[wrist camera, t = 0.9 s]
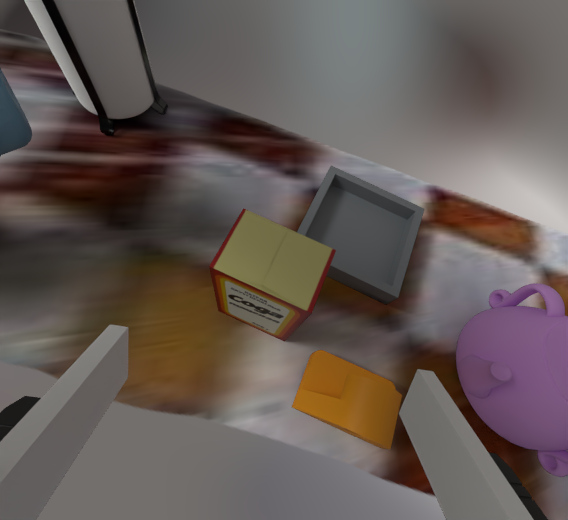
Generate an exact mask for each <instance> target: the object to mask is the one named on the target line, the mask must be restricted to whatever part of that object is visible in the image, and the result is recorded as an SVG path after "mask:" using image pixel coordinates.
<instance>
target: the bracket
mask: <svg viewBox="0 0 568 520" xmlns="http://www.w3.org/2000/svg"><path fill="white" fill-rule="evenodd" d="M401 398H402V395H401V394H400V393H399V392H398V391H396V389H395V386H394V384H393V383H392V382H391V381H390V380H387V379H385V378H383V377H381V376H379V375H376V374H374V373H372V372H370V371H368V370H365V369H363V368H361V367H359V366H357V365H354V364H352V363H350V362H348V361H346V360H343V359H341V358H339V357H337V356H334V355H332V354H330V353H328V352H326V351H323V350H318V351H316V352H314V353H312V354H311V356H310V358H309V361H308V364H307V366H306V369H305V372H304V375H303V378H302V380H301V383H300V386H299V389H298V391H297V394H296V397H295V400H294V402H293V405H292V407H293V408H295V409H297V410H299V411H301V412H303V413H306V414H308V415H310V416H312V417H314V418H316V419H318V420H320V421H322V422H325V423H327V424H329V425H331V426H333V427H335V428H338V429H340V430H342V431H344V432H346V433H348V434H351V435H353V436H355V437H358V438H360V439H362V440H364V441H366V442H368V443H371V444H373V445H375V446H377V447H380V448H383V449H391V445H392V440H393V435H394V431H395V426H396V421H397V417H398V412H399V408H400V403H401Z"/></svg>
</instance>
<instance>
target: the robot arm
mask: <svg viewBox="0 0 568 520" xmlns="http://www.w3.org/2000/svg"><path fill="white" fill-rule="evenodd" d="M31 137H32V131H31V127H30V125H29V123H28V121H27V119H26V116H25V114H24V112H23V110H22V108H21V106H20V104H19V103H18V101H17V99H16V97H15V95H14V93H13V91H12V89H11V87H10V85H9V83H8V82H7V80H6V78H5V76H4V74H3V72H2V70H1V68H0V156H1V155H2V154H5V153H8V152H11V151H13V150H16V149H19V148H21V147H24V146H26V145H27V144H28V143H29V142H30V140H31ZM127 378H128V327H124V326H117V325H109V326H108V327H107V328H106V329H105V330H104V331H103V332H102V333H101V335H100V336H99V337H98V338H97V339H96V340H95V341H94V342H93V343H92V344H91V345H90V346H89V347H88V348H87V350H86V351H85V352H84V353H83V354H82V355H81V356H80V357H79V358H78V359H77V360H76V361H75V362H74V363H73V365H72V366H71V367H70V368H69V369H68V370H67V371H66V372H65V373H64V374H63V375H62V376H61V377H60V378H59V380H58V381H57V382H56V383H55V384H54V385H53V386H52V387H51V388H50V389H49V390H48V391H47V392H46V393H45V394H44V396H43V397H42V398H37V397H29V396H24V397H23V398H21V399H19V400H18V401H16V402H14V403H13V404H11V405H9V406H8V407H6V408H5V409H4V410H3V411H2V412H1V413H0V520H36V519H37V517H38V516H39V514H40V513H41V511H42V510H43V508H44V507H45V505H46V504H47V502H48V500H49V499H50V497H51V496H52V494H53V493H54V491H55V490H56V488H57V487H58V485H59V483H60V482H61V480H62V479H63V477H64V476H65V474H66V473H67V471H68V469H69V468H70V466H71V465H72V463H73V462H74V460H75V459H76V457H77V455H78V454H79V452H80V451H81V449H82V448H83V446H84V445H85V443H86V441H87V440H88V439H89V437H90V435H91V434H92V432H93V430H94V429H95V428H96V426H97V424H98V423H99V421H100V420H101V418H102V417H103V415H104V414H105V412H106V411H107V409H108V407H109V406H110V404H111V403H112V401H113V400H114V398H115V397H116V395H117V394H118V392H119V390H120V389H121V387H122V386H123V384H124V383H125V381H126V380H127ZM399 415H400V417H401V419H402V421H403V424H404V426H405V428H406V430H407V433H408V435H409V437H410V439H411V442H412V444H413V446H414V448H415V451H416V453H417V455H418V457H419V460H420V462H421V464H422V466H423V469H424V471H425V473H426V475H427V478H428V480H429V482H430V484H431V487H432V489H433V491H434V493H435V496H436V498H437V500H438V502H439V504H440V507H441V509H442V511H443V513H444V516H445V518H446V520H548V519H547V518H546V517H545V515H544V514H543V512H542V511H541V510H540V508H539V507H538V505H537V504H536V503H535V501H534V500H532V497H531V496H530V494H529V493H528V491H527V490H526V489H525V487H523V486H522V483H521V482H520V480H519V479H518V477H517V476H516V475H515V473H514V472H513V470H512V469H511V468H510V467H509V466H508V465H507V464H506V463H505V462H504V461H503V460H502V459H501V458H500V457H499V456H498V455H497V454H495V453H488V452H487V450H486V449H485V447H484V446H483V444H482V443H481V441H480V440H479V438H478V437H477V435H476V434H475V432H474V431H473V429H472V428H471V426H470V425H469V424H468V422H467V421H466V419H465V418H464V416H463V415H462V413H461V412H460V410H459V409H458V407H457V406H456V404H455V403H454V401H453V400H452V398H451V397H450V396H449V394H448V393H447V391H446V390H445V388H444V387H443V385H442V384H441V382H440V381H439V379H438V378H437V376H436V375H435V373H434V372H433V371H427V370H420V369H417V372H416V374H415V376H414V379H413V381H412V383H411V386H410V388H409V390H408V393H407V395H406V398H405V400H404V402H403V405H402V407H401V409H400V412H399Z"/></svg>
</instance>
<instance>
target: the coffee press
mask: <svg viewBox="0 0 568 520" xmlns="http://www.w3.org/2000/svg"><path fill="white" fill-rule="evenodd" d="M24 1H25V3H26V5H27V6H28V8H29V10H30V12H31V14H32V16H33V17H34V19H35V21H36V23H37V25H38V27H39V29H40V30H41V32H42V34H43V36H44V38H45V40H46V42H47V43H48V45H49V47H50V49H51V51H52V53H53V55H54V56H55V58H56V60H57V62H58V64H59V66H60V68H61V69H62V71H63V73H64V75H65V77H66V79H67V80H68V82H69V84H70V86H71V88H72V90H73V94H74V95H75V96H76V97H77V98H78V100H79V102H80V103H81V104H82V105H83V106H84V107H85V108H86V109H87V110H89V111H90V112H92V113H94V114H96V115H98V116H99V122H100V130H101V132H102V133H105V134H111V135H112V134H113V132H114V119H125V118H131V117H134V116H137V115H139V114H141V113H143V112H144V111H146V110H147V109H148V108H149V107H151V108H153V109H154V110H156V111H157V112H158V113H160V114H165V113H166V110H167V107H168V106H167V104H166V103H165V102H164V101H163V100H162V99H161V97H160V96H159V95H158V92H157V89H156V84H155V80H154V76H153V73H152V69H151V64H150V60H149V57H148V53H147V49H146V45H145V41H144V37H143V33H142V30H141V26H140V22H139V18H138V14H137V10H136V6H135V3H134V0H24ZM154 100H156V102H157V103H158V104H159V105H160V106H161V107H160V106H159V105H158V104H157V103H155V102H154Z"/></svg>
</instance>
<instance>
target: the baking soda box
mask: <svg viewBox="0 0 568 520" xmlns="http://www.w3.org/2000/svg"><path fill="white" fill-rule="evenodd" d="M335 252H336V250H335V249H332V248H330V247H328V246H326V245H324V244H321V243H319V242H317V241H315V240H312V239H310V238H308V237H306V236H304V235H301V234H299V233H297V232H295V231H292V230H290V229H288V228H286V227H284V226H281V225H279V224H277V223H275V222H272V221H270V220H268V219H266V218H264V217H261V216H259V215H257V214H255V213H252V212H250V211H248V210H246V209H244V208H243V210H242V212H241V214H240V215H239V217H238V219H237V220H236V222H235V224H234V225H233V227H232V229H231V230H230V232H229V234H228V236H227V237H226V239H225V241H224V242H223V244H222V246H221V247H220V249H219V251H218V252H217V254H216V256H215V258H214V259H213V261H212V263H211V264H210V266H209V267H210V272H211V277H212V282H213V286H214V291H215V296H216V301H217V306H218V310H219V311H220V312H222V313H224V314H226V315H229V316H231V317H233V318H235V319H237V320H239V321H242V322H244V323H246V324H248V325H250V326H252V327H254V328H257V329H259V330H261V331H263V332H265V333H267V334H270V335H272V336H274V337H276V338H278V339H280V340H283V341H285V340H286V339H287V338H288V337H289V336H290V335H291V334H292V333H293V332H294V331H295V330H296V329H297V328H298V327H299V326H300V325H301V324H302V323H303V322H304V320H305V319H306V318H307V317H308V316H309V315H310V314H311V313H312V311H313V308H314V306H315V303H316V301H317V298H318V295H319V293H320V290H321V288H322V285H323V283H324V280H325V278H326V275H327V272H328V270H329V267H330V265H331V262H332V260H333V257H334V255H335Z"/></svg>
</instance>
